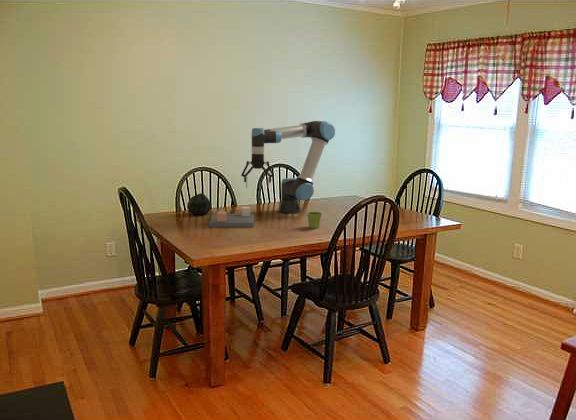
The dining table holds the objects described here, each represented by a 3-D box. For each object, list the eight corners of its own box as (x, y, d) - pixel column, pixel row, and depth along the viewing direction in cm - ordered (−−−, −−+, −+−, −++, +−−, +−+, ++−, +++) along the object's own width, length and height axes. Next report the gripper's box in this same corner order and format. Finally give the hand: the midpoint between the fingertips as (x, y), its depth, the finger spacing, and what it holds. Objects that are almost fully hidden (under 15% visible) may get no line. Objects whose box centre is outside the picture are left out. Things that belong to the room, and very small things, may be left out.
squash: (184, 204, 337) (188, 189, 326) (206, 203, 343) (211, 189, 332) (187, 221, 329) (191, 207, 318) (210, 220, 335) (214, 206, 324)
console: (254, 218, 321) (254, 213, 321) (253, 227, 298) (253, 222, 297) (212, 218, 320) (212, 213, 319) (209, 227, 296) (209, 222, 296)
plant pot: (311, 229, 295) (311, 215, 293) (303, 226, 303) (303, 212, 301) (324, 228, 299) (325, 214, 297) (316, 225, 307) (317, 211, 305)
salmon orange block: (226, 219, 303) (226, 211, 302) (225, 221, 297) (225, 213, 296) (217, 219, 303) (217, 211, 302) (217, 221, 297) (217, 213, 296)
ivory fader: (250, 214, 318) (250, 206, 317) (249, 216, 313) (249, 208, 312) (242, 214, 318) (242, 206, 317) (241, 216, 312) (241, 208, 311)
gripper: (277, 153, 313) (277, 186, 317) (237, 152, 312) (237, 186, 316) (278, 154, 305) (277, 188, 310) (237, 153, 304) (237, 188, 309)
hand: (257, 187), depth 313 cm, fingers open, 13 cm apart
